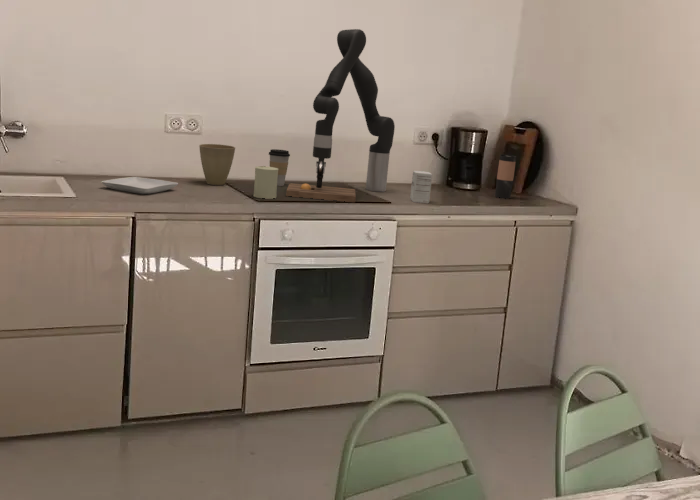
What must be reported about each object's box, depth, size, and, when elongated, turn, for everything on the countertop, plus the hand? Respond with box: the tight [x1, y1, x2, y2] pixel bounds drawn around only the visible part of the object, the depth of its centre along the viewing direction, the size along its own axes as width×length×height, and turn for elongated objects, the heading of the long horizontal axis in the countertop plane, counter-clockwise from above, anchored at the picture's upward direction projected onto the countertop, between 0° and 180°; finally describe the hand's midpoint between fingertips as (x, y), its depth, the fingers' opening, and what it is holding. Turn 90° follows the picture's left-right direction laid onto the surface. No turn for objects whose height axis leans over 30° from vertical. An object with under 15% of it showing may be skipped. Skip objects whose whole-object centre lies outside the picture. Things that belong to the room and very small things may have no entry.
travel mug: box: [494, 153, 517, 199], centre depth 375 cm, size 8×8×20 cm
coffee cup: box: [268, 148, 291, 187], centre depth 349 cm, size 9×9×15 cm
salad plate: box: [101, 176, 179, 195], centre depth 305 cm, size 21×21×3 cm
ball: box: [300, 183, 311, 190], centre depth 331 cm, size 4×4×4 cm
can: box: [252, 165, 278, 200], centre depth 314 cm, size 9×9×12 cm
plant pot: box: [198, 143, 236, 186], centre depth 334 cm, size 15×15×16 cm
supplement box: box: [409, 170, 433, 204], centre depth 340 cm, size 7×7×13 cm
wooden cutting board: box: [285, 183, 357, 203], centre depth 331 cm, size 20×28×2 cm
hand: (319, 187), depth 331 cm, fingers closed
